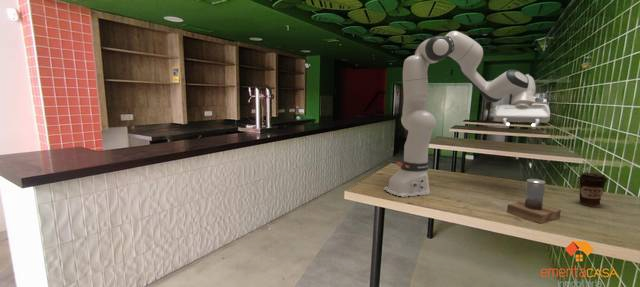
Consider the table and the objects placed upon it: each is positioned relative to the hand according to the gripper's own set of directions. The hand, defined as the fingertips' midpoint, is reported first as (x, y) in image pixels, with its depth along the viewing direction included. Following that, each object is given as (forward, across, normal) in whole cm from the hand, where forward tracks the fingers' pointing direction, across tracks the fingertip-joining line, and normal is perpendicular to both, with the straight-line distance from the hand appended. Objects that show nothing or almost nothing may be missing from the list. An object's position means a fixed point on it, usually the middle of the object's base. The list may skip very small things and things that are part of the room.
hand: (519, 127), depth 126 cm
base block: (+36, +7, +8) cm, 38 cm away
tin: (+34, +7, +6) cm, 35 cm away
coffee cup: (+18, +26, +27) cm, 42 cm away
